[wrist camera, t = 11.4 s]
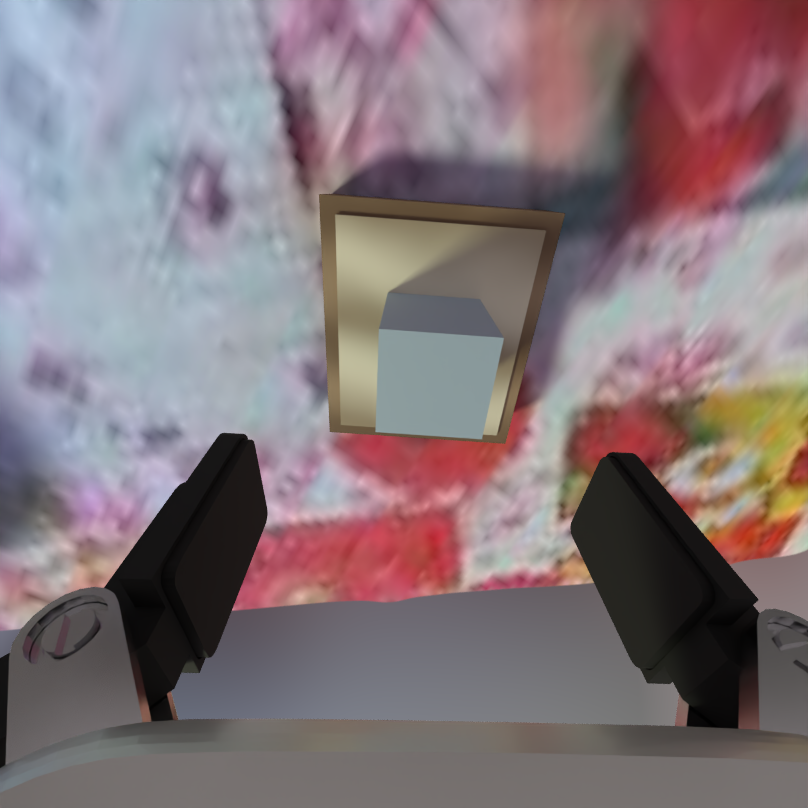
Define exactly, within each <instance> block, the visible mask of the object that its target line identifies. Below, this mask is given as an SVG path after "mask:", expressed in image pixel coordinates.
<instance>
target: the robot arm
mask: <svg viewBox="0 0 808 808" xmlns="http://www.w3.org/2000/svg"><path fill="white" fill-rule="evenodd" d="M266 520H267V506H266V500H265V495H264V490H263V485H262V480H261V475H260V469H259V464H258V459H257V454H256V449H255V444H254V441H253V440H248V438H247V436H246V435H245V434H234V433H221V434H220V435H219V436H218V437H217V439H216V440H215V442H214V443H213V444H212V446H211V447H210V449H209V450H208V451H207V453H206V454H205V456H204V457H203V459H202V460H201V461H200V463H199V464H198V466H197V467H196V468H195V470H194V471H193V473H192V474H191V476H190V477H189V478H188V480H187V481H186V483H185V482H184V483H182V484H180V485H179V486H178V487H177V488H176V489H175V490H174V492H173V493H172V495H171V496H170V497H169V499H168V500H167V502H166V503H165V504H164V506H163V507H162V508H161V510H160V511H159V513H158V514H157V515H156V517H155V518H154V520H153V521H152V522H151V524H150V525H149V526H148V528H147V529H146V531H145V532H144V533H143V535H142V536H141V537H140V539H139V540H138V542H137V543H136V544H135V546H134V547H133V549H132V550H131V551H130V553H129V554H128V555H127V557H126V558H125V560H124V561H123V562H122V564H121V565H120V567H119V568H118V569H117V571H116V572H115V573H114V575H113V576H112V578H111V579H110V580H109V582H108V583H107V585H106V586H105V587H104V588H99V587H91V588H85V589H79V590H77V591H74V592H71V593H69V594H66V595H64V596H62V597H60V598H58V599H57V600H55V601H53V602H51V603H50V604H48V605H47V606H45V607H44V608H43V609H42V610H40V611H39V612H38V613H37V614H35V615H34V616H33V617H32V618H31V619H30V620H29V621H28V622H27V623H26V625H25V626H24V627H23V628H22V629H21V630H20V632H19V634H18V635H17V637H16V639H15V640H14V642H13V644H12V648H11V652H10V653H9V654H7V655H5V656H3V657H1V658H0V808H808V621H806V620H805V619H803V618H801V617H799V616H796V615H794V614H792V613H789V612H787V611H782V610H778V609H766V610H764V611H762V612H761V613H759V612H758V611H757V610H756V608H755V607H754V606H753V604H754V603H756V602H757V601H758V598H757V597H756V596H755V595H754V594H753V593H752V591H751V590H750V589H749V588H748V586H746V584H745V583H744V582H743V581H742V579H741V578H740V577H739V576H738V575H737V574H736V572H735V571H734V570H733V569H732V568H731V566H730V565H729V564H728V563H727V562H726V560H725V559H724V558H723V557H722V556H721V554H720V553H719V552H718V551H717V550H716V549H715V547H714V546H713V545H712V544H711V543H710V541H709V540H708V539H707V538H706V537H705V536H704V534H703V533H702V532H701V531H700V530H699V528H698V527H697V526H696V525H695V524H694V522H693V521H692V520H691V519H690V518H689V517H688V515H687V514H686V513H685V512H684V511H683V509H682V508H681V507H680V506H679V505H678V504H677V502H676V501H675V500H674V499H673V498H672V496H671V495H670V494H669V493H668V492H667V490H666V489H665V488H664V487H663V486H662V485H661V483H660V482H659V481H658V480H657V479H656V477H655V476H654V475H653V474H652V473H651V471H650V470H649V469H648V468H647V467H646V466H645V464H644V463H643V462H642V461H641V460H640V458H639V457H638V456H637V455H635V454H633V453H618V452H611V453H609V454H607V456H606V457H603V458H602V459H601V460H600V462H599V464H598V466H597V468H596V470H595V472H594V475H593V477H592V479H591V481H590V483H589V485H588V487H587V490H586V492H585V494H584V496H583V498H582V500H581V503H580V505H579V507H578V509H577V511H576V513H575V515H574V518H573V520H572V522H571V534H572V537H573V539H574V541H575V543H576V545H577V547H578V549H579V552H580V554H581V556H582V558H583V560H584V562H585V564H586V566H587V568H588V571H589V573H590V575H591V577H592V579H593V581H594V583H595V585H596V587H597V589H598V592H599V594H600V596H601V598H602V600H603V602H604V604H605V606H606V608H607V611H608V613H609V615H610V617H611V619H612V621H613V623H614V625H615V627H616V630H617V632H618V634H619V636H620V638H621V640H622V642H623V644H624V646H625V648H626V651H627V653H628V655H629V657H630V659H631V660H632V662H633V663H634V665H635V666H636V667H638V668H640V669H641V671H642V673H643V675H644V677H645V679H646V682H647V683H657V684H670V683H672V682H673V683H674V685H675V687H676V688H677V690H678V692H679V699H678V707H677V714H676V721H675V726H651V725H608V724H606V725H605V724H566V723H565V724H564V723H516V722H514V723H512V722H463V721H405V720H404V721H403V720H333V719H186V720H178V716H177V713H176V709H175V705H174V701H173V697H172V694H171V691H172V690H173V689H174V688H175V686H176V683H177V681H178V679H179V677H180V674H181V672H184V673H200V670H201V668H202V665H203V663H204V660H205V658H206V657H207V658H209V657H212V656H213V654H214V653H215V651H216V649H217V647H218V644H219V642H220V639H221V636H222V634H223V631H224V629H225V626H226V624H227V621H228V618H229V616H230V613H231V611H232V608H233V606H234V603H235V601H236V598H237V596H238V593H239V590H240V588H241V585H242V583H243V580H244V578H245V575H246V573H247V570H248V567H249V565H250V562H251V560H252V557H253V555H254V552H255V550H256V547H257V544H258V542H259V539H260V537H261V534H262V532H263V529H264V527H265V524H266Z"/></svg>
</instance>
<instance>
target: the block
mask: <svg viewBox="0 0 808 808" xmlns="http://www.w3.org/2000/svg"><path fill="white" fill-rule="evenodd" d="M503 340H504V337H503V336H502V334H501V332H500V331H499V329H498V327H497V326H496V324H495V323H494V321H493V319H492V318H491V316H490V315H489V313H488V311H487V310H486V308H485V306H484V305H483V303H482V302H481V300H480V299H472V298H458V297H445V296H431V295H418V294H404V293H391V292H388V294H387V298H386V302H385V306H384V310H383V314H382V319H381V323H380V327H379V342H378V372H377V402H376V431H375V432H382V433H397V434H411V435H426V436H441V437H456V438H470V439H482V436H483V432H484V427H485V423H486V418H487V413H488V409H489V404H490V400H491V395H492V391H493V386H494V381H495V377H496V372H497V368H498V363H499V359H500V354H501V349H502V345H503Z"/></svg>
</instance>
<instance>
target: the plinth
mask: <svg viewBox="0 0 808 808" xmlns="http://www.w3.org/2000/svg"><path fill="white" fill-rule="evenodd" d="M319 202H320V224H321V246H322V268H323V290H324V313H325V335H326V357H327V379H328V401H329V423H330V432H340V433H355V434H370V435H384V436H399V437H414V438H429V439H444V440H459V441H474V442H489V443H504V444H505V443H506V439H507V435H508V431H509V427H510V423H511V419H512V416H513V412H514V408H515V404H516V400H517V396H518V393H519V389H520V385H521V381H522V377H523V373H524V370H525V366H526V362H527V358H528V354H529V350H530V346H531V343H532V339H533V335H534V331H535V327H536V323H537V320H538V316H539V312H540V308H541V304H542V300H543V297H544V293H545V289H546V285H547V281H548V277H549V274H550V270H551V266H552V262H553V258H554V254H555V250H556V247H557V243H558V239H559V235H560V231H561V227H562V224H563V220H564V216H565V213H559V212H552V211H546V210H533V209H520V208H507V207H494V206H481V205H468V204H455V203H442V202H430V201H417V200H404V199H391V198H378V197H365V196H352V195H339V194H319ZM388 292H391V293H404V294H418V295H431V296H445V297H458V298H472V299H480V300H481V302H482V303H483V305H484V306H485V308H486V310H487V311H488V313H489V315H490V316H491V318H492V319H493V321H494V323H495V324H496V326H497V327H498V329H499V331H500V332H501V334H502V336H503V337H504V340H503V345H502V349H501V354H500V359H499V363H498V368H497V372H496V377H495V381H494V386H493V391H492V395H491V400H490V404H489V409H488V413H487V418H486V423H485V427H484V432H483V436H482V439H470V438H456V437H441V436H426V435H411V434H397V433H382V432H375V431H376V402H377V372H378V342H379V327H380V323H381V319H382V314H383V310H384V306H385V302H386V298H387V294H388Z"/></svg>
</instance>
